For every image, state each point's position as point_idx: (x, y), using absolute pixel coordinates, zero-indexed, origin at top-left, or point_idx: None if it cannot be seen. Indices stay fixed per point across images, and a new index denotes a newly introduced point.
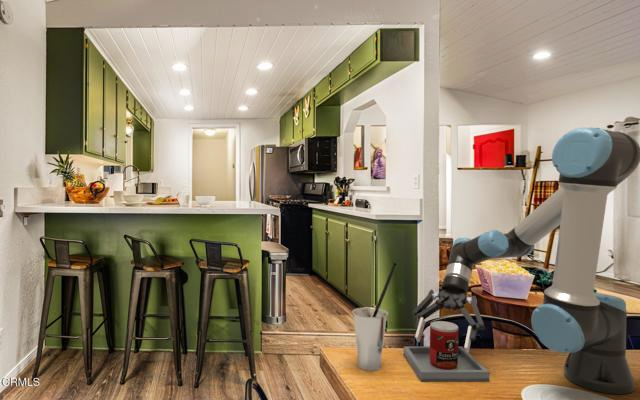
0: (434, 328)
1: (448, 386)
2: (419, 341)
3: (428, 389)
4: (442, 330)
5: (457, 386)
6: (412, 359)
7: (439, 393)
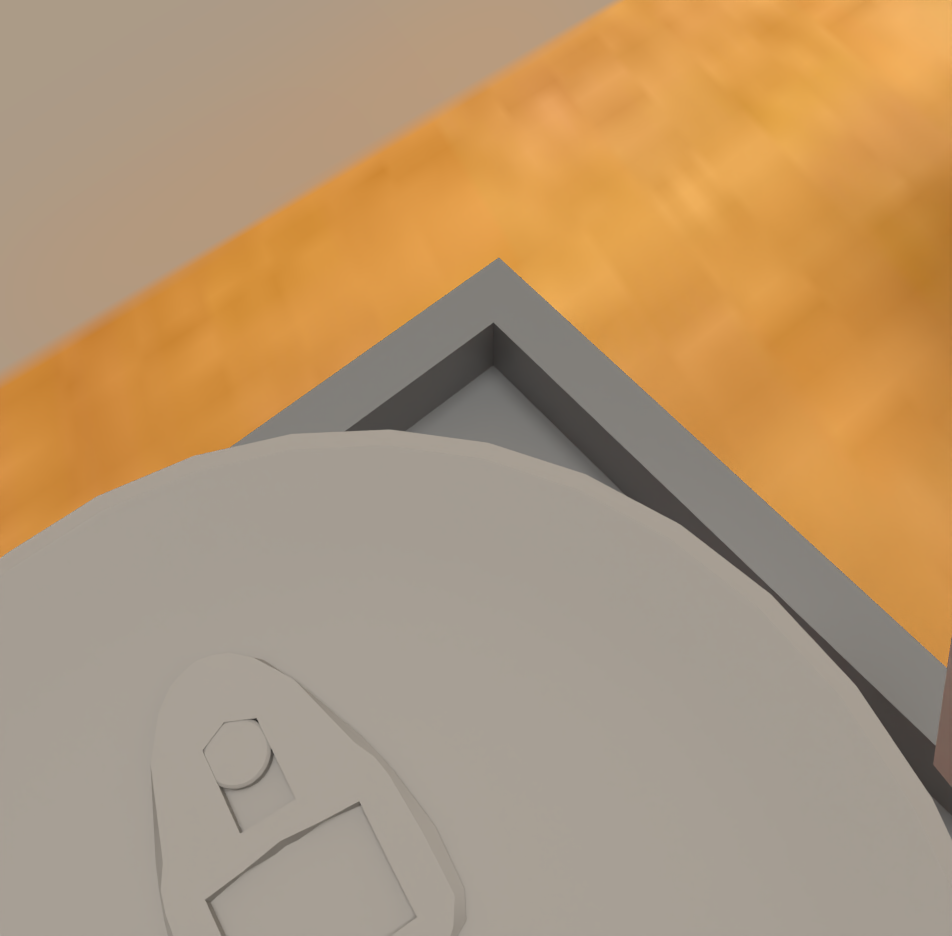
0: (567, 483)
1: (228, 403)
2: (938, 744)
3: (377, 240)
4: (263, 463)
5: (143, 460)
6: (789, 524)
7: (266, 234)
